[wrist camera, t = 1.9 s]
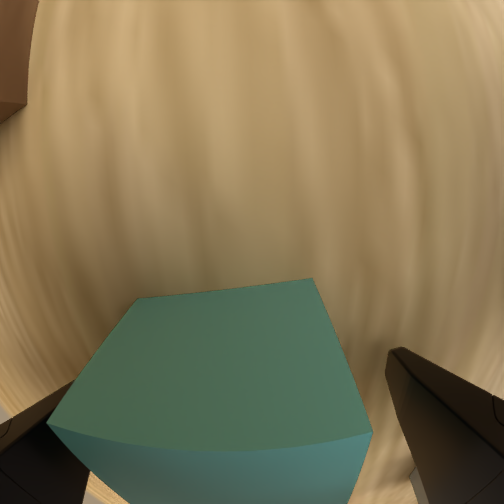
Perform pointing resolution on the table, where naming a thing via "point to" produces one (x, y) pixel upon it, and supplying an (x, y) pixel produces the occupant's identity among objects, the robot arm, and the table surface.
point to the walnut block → (15, 53)
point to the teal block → (220, 401)
